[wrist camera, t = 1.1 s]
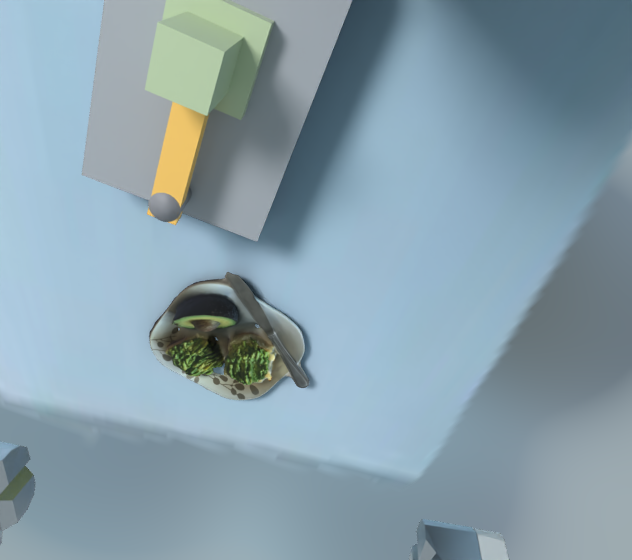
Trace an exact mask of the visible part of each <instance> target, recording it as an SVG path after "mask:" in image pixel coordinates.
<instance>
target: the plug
mask: <svg viewBox="0 0 632 560" xmlns="http://www.w3.org/2000/svg"><path fill="white" fill-rule="evenodd" d="M273 24H274V21H273V20H271V19H269V18H267V17H265V16H263V15H260V14H258V13H256V12H254V11H252V10H250V9H248V8H245V7H243V6H241V5H239V4H237V3H235V2H233V1H230V0H166V3H165V8H164V13H163V18H162V21H159V22H157V28H156V33H155V38H154V43H153V48H152V54H151V59H150V64H149V69H148V75H147V80H146V85H145V90H146V91H149V92H151V93H153V94H156V95H158V96H161V97H163V98H165V99H168V100H170V101H172V102H175V103H177V104H180V105H182V106H184V107H187V108H189V109H191V110H194V111H196V112H199V113H201V114H203V115H206V116H208V114H209V113H210V112H211V111H212V110H213V109H216V110H218V111H221V112H223V113H225V114H228V115H230V116H232V117H235V118H237V119H239V120H242V118H243V117H244V115H245V112H246V109H247V106H248V103H249V100H250V97H251V93H252V90H253V87H254V84H255V81H256V78H257V75H258V71H259V68H260V65H261V62H262V59H263V56H264V53H265V49H266V46H267V43H268V40H269V37H270V34H271V31H272V27H273Z"/></svg>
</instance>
